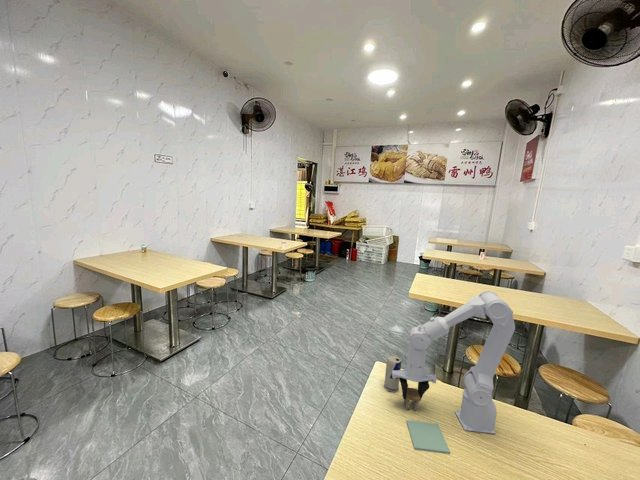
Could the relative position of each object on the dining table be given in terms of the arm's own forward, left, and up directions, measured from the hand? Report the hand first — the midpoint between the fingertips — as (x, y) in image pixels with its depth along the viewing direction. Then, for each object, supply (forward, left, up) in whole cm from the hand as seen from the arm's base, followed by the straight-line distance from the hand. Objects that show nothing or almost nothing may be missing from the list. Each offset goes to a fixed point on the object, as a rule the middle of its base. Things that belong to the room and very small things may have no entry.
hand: (411, 398), depth 93 cm
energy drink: (+5, -9, -3) cm, 11 cm away
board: (-2, +12, -3) cm, 13 cm away
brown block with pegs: (0, 0, -3) cm, 3 cm away
